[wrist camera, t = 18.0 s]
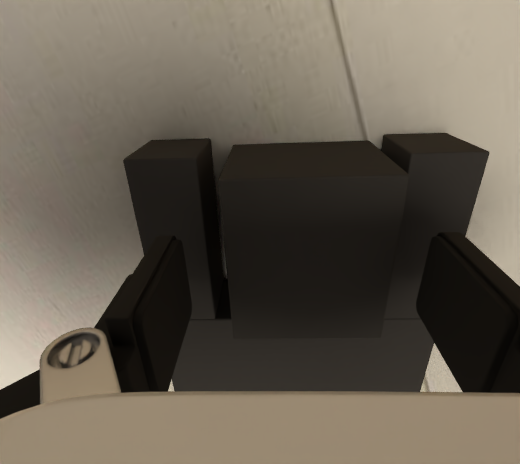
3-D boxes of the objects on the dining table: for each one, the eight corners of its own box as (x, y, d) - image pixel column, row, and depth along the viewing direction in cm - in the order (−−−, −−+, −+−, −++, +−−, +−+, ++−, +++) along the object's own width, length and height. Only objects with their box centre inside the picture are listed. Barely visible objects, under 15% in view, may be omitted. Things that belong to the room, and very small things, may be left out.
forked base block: (196, 395, 21) (185, 443, 19) (150, 139, 14) (122, 159, 11) (387, 396, 21) (404, 446, 18) (446, 132, 13) (490, 151, 11)
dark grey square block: (242, 273, 17) (233, 339, 13) (232, 144, 14) (217, 179, 10) (354, 271, 17) (381, 339, 13) (370, 140, 14) (411, 174, 10)
